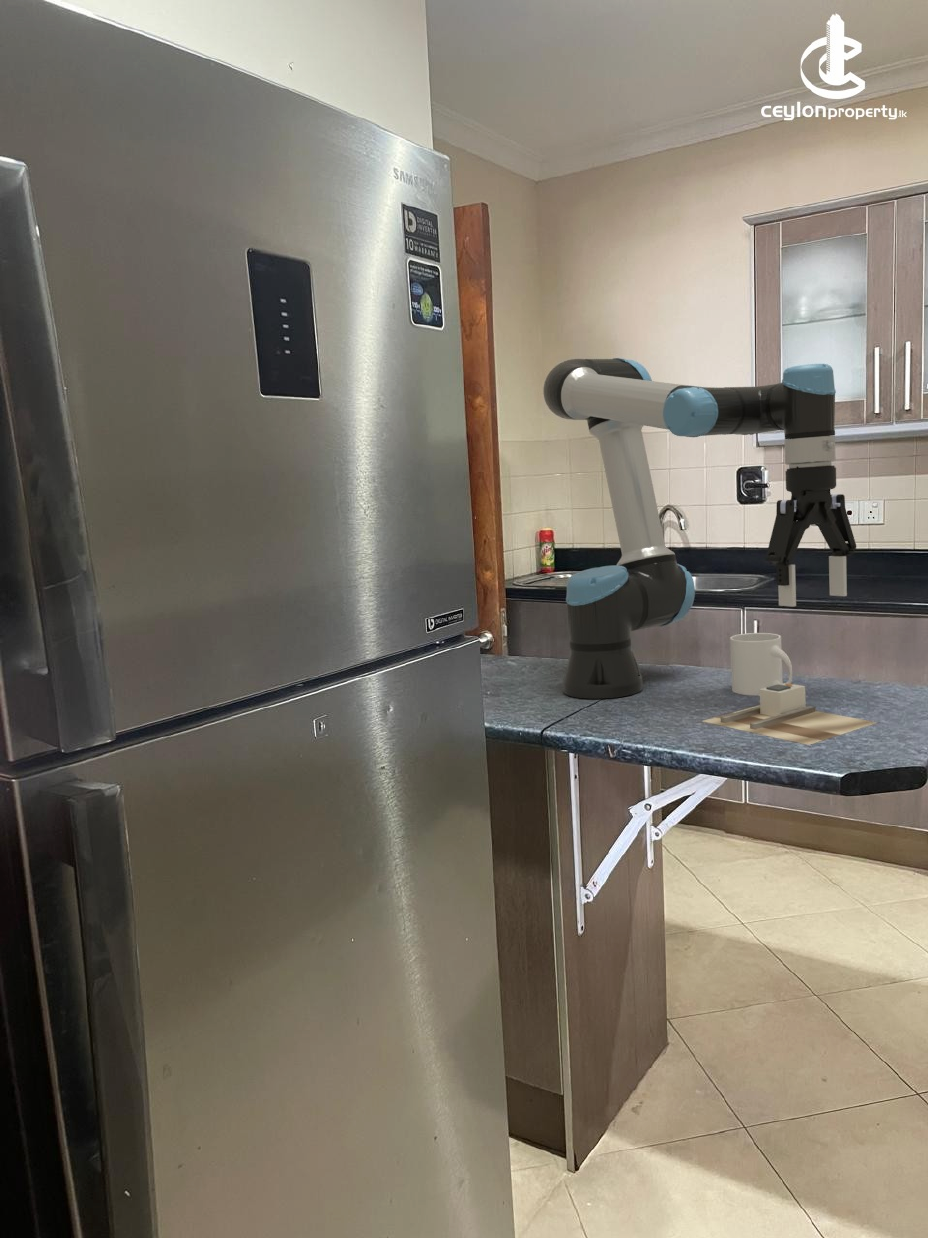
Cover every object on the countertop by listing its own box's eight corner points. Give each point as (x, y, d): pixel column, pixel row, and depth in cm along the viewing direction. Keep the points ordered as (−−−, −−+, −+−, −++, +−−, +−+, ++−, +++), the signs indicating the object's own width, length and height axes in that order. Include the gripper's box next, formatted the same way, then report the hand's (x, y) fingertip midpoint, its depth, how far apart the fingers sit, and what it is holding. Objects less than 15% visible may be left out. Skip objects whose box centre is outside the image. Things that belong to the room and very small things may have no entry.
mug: (775, 707, 157) (772, 645, 156) (721, 697, 167) (719, 638, 166) (809, 698, 161) (807, 637, 160) (755, 688, 172) (753, 631, 170)
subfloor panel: (701, 728, 148) (701, 716, 148) (769, 709, 156) (769, 697, 156) (808, 753, 131) (808, 739, 131) (878, 730, 139) (877, 717, 139)
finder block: (760, 713, 149) (759, 687, 148) (785, 706, 152) (784, 681, 152) (780, 718, 146) (779, 691, 145) (805, 710, 149) (805, 684, 148)
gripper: (778, 468, 138) (782, 612, 141) (878, 460, 151) (880, 592, 154) (739, 470, 144) (743, 608, 148) (838, 462, 157) (840, 590, 160)
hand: (813, 600), depth 151 cm, fingers open, 12 cm apart
